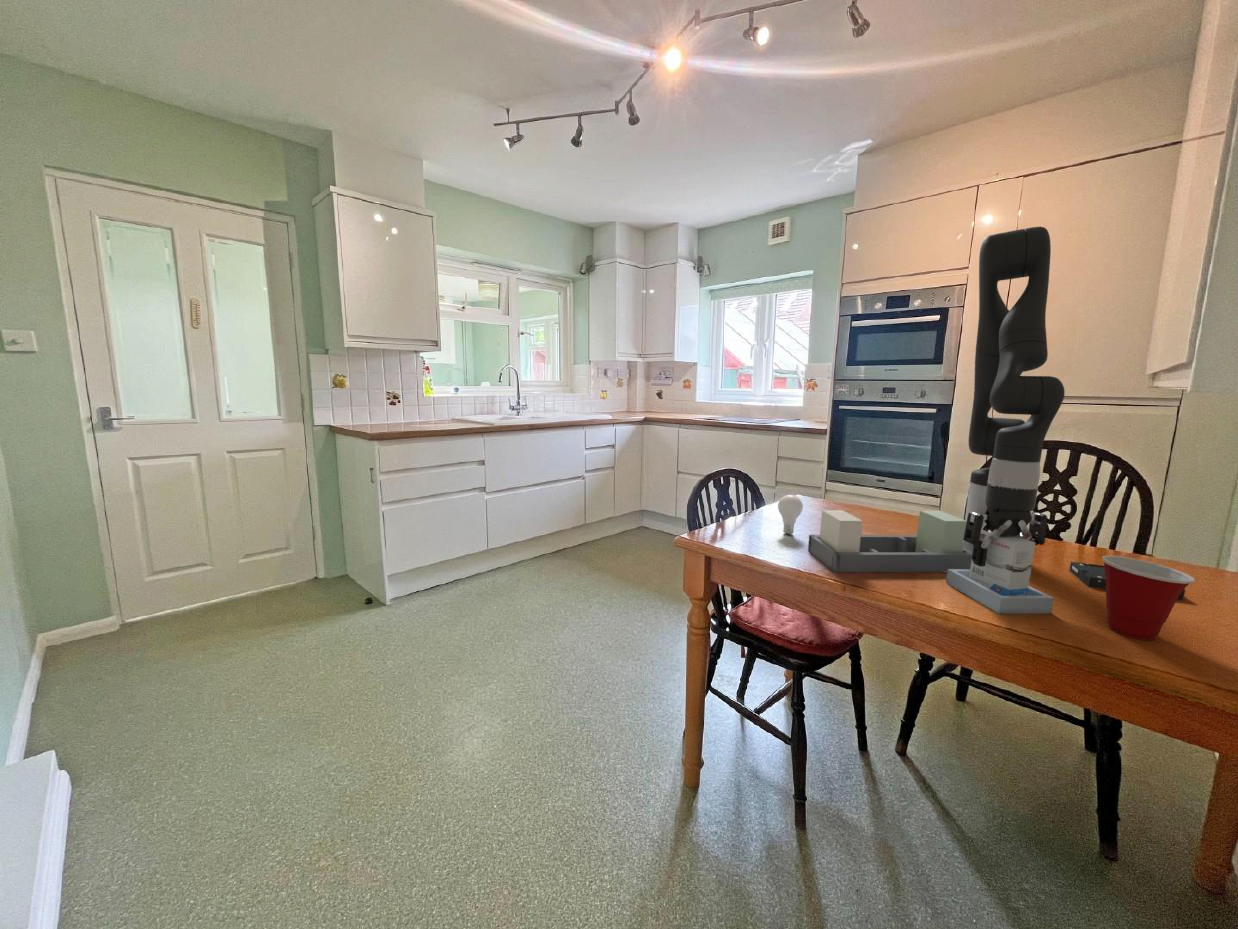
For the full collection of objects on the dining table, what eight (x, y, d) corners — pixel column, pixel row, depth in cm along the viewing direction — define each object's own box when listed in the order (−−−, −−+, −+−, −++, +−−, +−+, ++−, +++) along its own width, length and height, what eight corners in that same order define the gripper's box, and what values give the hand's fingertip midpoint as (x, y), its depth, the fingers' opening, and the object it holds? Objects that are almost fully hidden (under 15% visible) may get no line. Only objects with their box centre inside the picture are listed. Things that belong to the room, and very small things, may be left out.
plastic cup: (1199, 654, 79) (1216, 581, 77) (1115, 643, 82) (1129, 573, 80) (1149, 622, 89) (1162, 557, 87) (1075, 613, 92) (1087, 551, 90)
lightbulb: (803, 538, 134) (807, 498, 132) (779, 537, 134) (782, 497, 132) (796, 531, 140) (799, 492, 138) (773, 530, 140) (775, 492, 138)
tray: (992, 582, 106) (994, 569, 105) (1051, 613, 92) (1054, 598, 91) (945, 582, 105) (947, 569, 105) (998, 613, 91) (1001, 598, 91)
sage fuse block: (934, 554, 123) (940, 510, 121) (960, 568, 114) (967, 521, 112) (914, 554, 123) (919, 510, 121) (939, 568, 114) (945, 521, 112)
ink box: (1027, 601, 95) (1037, 541, 93) (1006, 603, 94) (1015, 543, 92) (986, 583, 103) (994, 528, 101) (966, 585, 102) (974, 529, 100)
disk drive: (1087, 590, 104) (1184, 602, 99) (1089, 577, 104) (1187, 589, 98) (1067, 572, 114) (1155, 583, 108) (1069, 561, 113) (1157, 571, 107)
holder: (933, 550, 125) (935, 535, 125) (975, 571, 112) (977, 554, 111) (807, 550, 124) (809, 534, 123) (834, 572, 110) (836, 554, 109)
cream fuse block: (838, 554, 122) (842, 510, 120) (857, 568, 113) (862, 520, 111) (818, 554, 122) (822, 510, 120) (835, 568, 113) (840, 520, 111)
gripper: (1031, 479, 99) (1019, 558, 101) (961, 479, 98) (950, 558, 101) (1066, 487, 91) (1052, 572, 94) (991, 487, 91) (979, 572, 93)
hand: (999, 565), depth 97 cm, fingers open, 8 cm apart
